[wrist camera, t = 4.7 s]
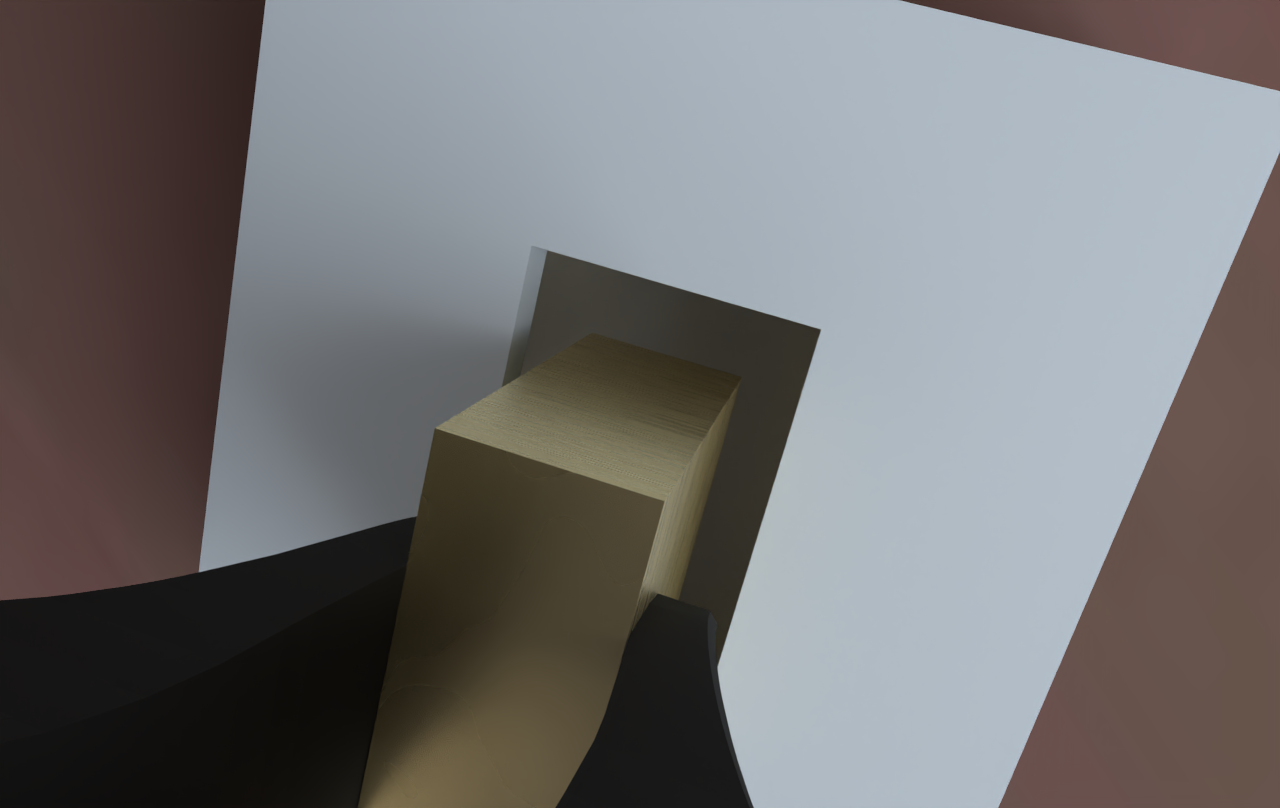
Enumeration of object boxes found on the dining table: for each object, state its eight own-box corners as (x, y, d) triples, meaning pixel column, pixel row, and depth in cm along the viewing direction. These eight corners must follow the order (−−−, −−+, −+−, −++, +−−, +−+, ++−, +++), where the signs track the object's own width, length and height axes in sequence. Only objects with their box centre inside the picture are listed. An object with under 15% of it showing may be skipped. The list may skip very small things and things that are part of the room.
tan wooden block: (645, 716, 14) (531, 988, 10) (511, 668, 15) (336, 910, 10) (742, 376, 13) (665, 501, 8) (591, 332, 13) (435, 428, 9)
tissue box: (873, 804, 21) (864, 1118, 14) (377, 628, 23) (167, 839, 16) (1141, 102, 17) (1302, 97, 10) (502, -55, 18) (283, -148, 12)
